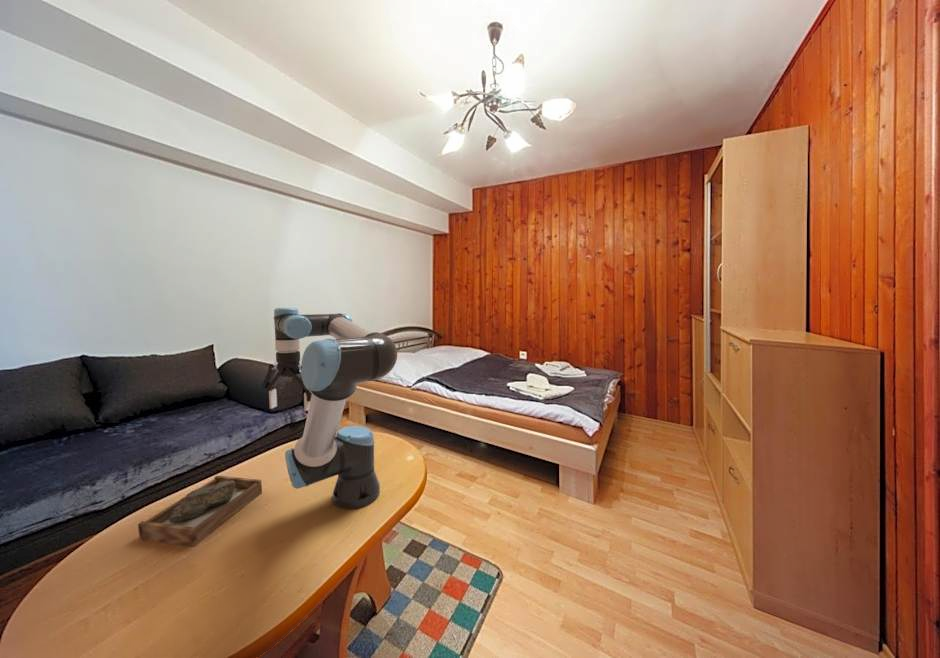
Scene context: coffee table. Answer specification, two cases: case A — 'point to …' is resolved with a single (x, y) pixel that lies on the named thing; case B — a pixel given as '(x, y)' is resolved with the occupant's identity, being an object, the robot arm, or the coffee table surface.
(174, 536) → the wooden tray
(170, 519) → the rock
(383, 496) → the coffee table surface
